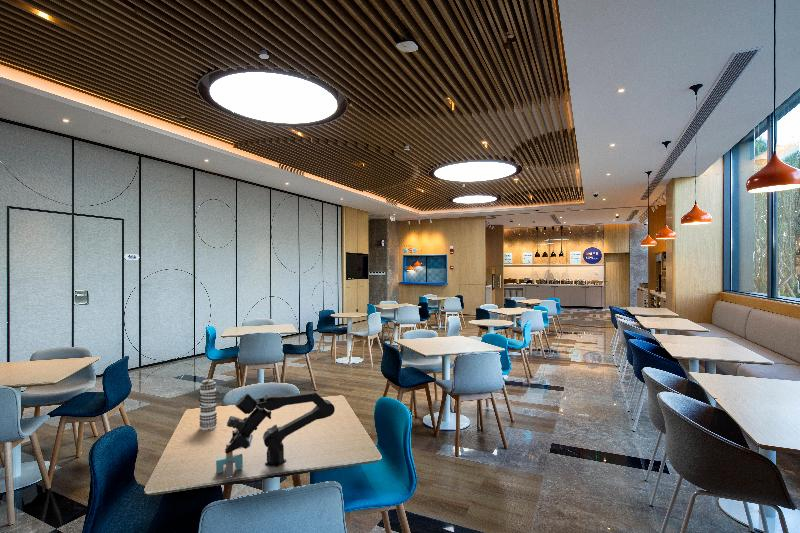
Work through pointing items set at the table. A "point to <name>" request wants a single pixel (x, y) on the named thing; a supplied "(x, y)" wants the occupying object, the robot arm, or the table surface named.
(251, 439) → the smartphone
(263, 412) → the robot arm
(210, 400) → the decorative candle
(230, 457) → the blue brown t-shaped block
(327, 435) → the table surface
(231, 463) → the slotted bar
